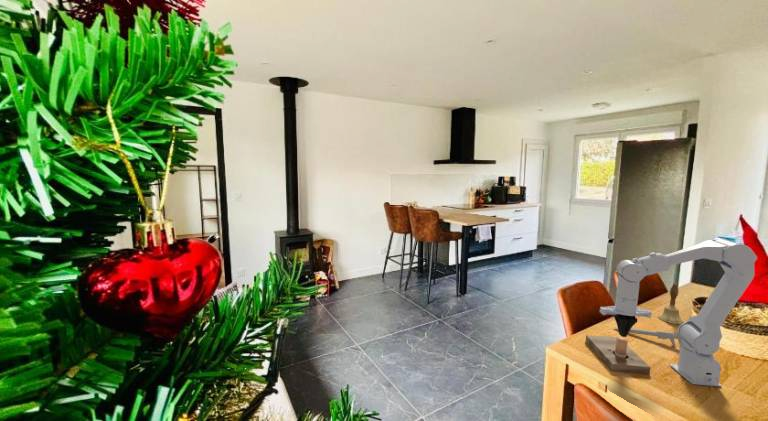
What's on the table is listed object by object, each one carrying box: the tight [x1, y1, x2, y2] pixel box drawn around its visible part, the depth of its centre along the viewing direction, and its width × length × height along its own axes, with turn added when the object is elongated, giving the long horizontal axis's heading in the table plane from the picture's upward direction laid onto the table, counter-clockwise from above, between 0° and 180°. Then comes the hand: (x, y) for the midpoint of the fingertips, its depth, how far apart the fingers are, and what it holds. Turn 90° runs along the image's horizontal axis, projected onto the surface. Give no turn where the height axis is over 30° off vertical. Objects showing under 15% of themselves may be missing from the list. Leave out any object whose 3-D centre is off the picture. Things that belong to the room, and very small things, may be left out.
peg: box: [615, 336, 629, 358], centre depth 107 cm, size 3×3×8 cm
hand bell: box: [657, 283, 685, 325], centre depth 136 cm, size 8×8×16 cm
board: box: [585, 334, 651, 375], centre depth 110 cm, size 18×11×2 cm, turn 171°
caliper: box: [613, 326, 682, 347], centre depth 122 cm, size 20×1×6 cm, turn 49°
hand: (622, 335), depth 106 cm, fingers closed
